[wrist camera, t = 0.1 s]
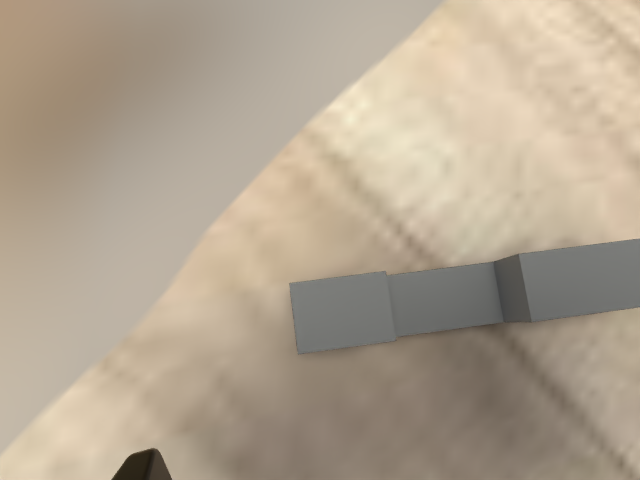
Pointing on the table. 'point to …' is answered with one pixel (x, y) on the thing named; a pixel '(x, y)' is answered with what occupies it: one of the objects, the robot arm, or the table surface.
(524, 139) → the table surface
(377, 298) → the charcoal rail
